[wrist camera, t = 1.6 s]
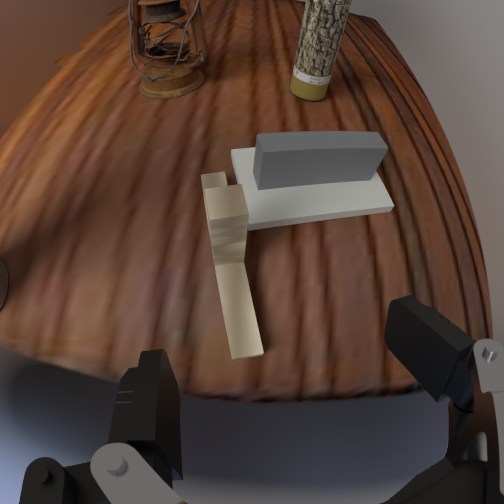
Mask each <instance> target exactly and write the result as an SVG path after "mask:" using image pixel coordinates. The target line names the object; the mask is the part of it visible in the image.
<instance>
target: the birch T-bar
mask: <svg viewBox="0 0 504 504" xmlns="http://www.w3.org/2000/svg"><path fill="white" fill-rule="evenodd" d="M201 180H202V188H203V195H204V202H205V209H206V215H207V222H208V228H209V235H210V241H211V247H212V253H213V259H214V265H215V271H216V277H217V282H218V288H219V294H220V299H221V305H222V310H223V315H224V321H225V326H226V331H227V336H228V341H229V346H230V351H231V356H232V360H238V359H243V358H248V357H254V356H259V355H262V354H263V353H264V352H263V347H262V343H261V338H260V334H259V329H258V325H257V320H256V316H255V311H254V307H253V302H252V297H251V293H250V288H249V284H248V279H247V274H246V270H245V265H244V256H245V247H246V238H247V228H248V219H249V212H248V208H247V204H246V200H245V196H244V192H243V187H242V184H238V185H230V186H228V185H227V180H226V175H225V172H217V173H210V174H203V175H201Z"/></svg>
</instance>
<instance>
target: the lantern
mask: <svg viewBox="0 0 504 504" xmlns="http://www.w3.org/2000/svg"><path fill="white" fill-rule="evenodd" d="M186 3H187V8H188V13H189V20H187V21H185V22H183V23H181V24H178V23H175V22H169V21H171V20H174V19H178V18H180V17H182V16H184V15H186V11H185V9H183V8H180V0H129V20H130V23H131V34H130V56H131V61H132V64H133V66H134V67H135V69H136V70H137V71H138V73H140V74H141V79H142V82H141V84H140V87H139V91H140V93H141V94H142V95H144V96H145V97H149V98H154V99H160V98H161V99H167V98H175V97H178V96H183V95H185V94H188V93H190V92H191V91H194V90H195V89H197V88H198V87H200V86H201V85H202V83H203V82H204V75H203V73H202V72H201V71H200V68H203V67H204V66H205V65H206V64H207V62H208V59H209V50H208V45H207V40H206V35H205V29H204V24H203V18H202V13H201V7H200V1H199V0H186ZM141 6H146V13H147V14H146V15H145V16H144V17H143V22H145V24H144V25H143V26H142V25H141ZM150 23H151V24H155V23H170V24H172V25H175V26H176V27H174V28H172V29H171V30H169V31H167V32H165V33H163V34H161V35H159V36H158V37H156V38H154V39H152V40H150V38H149V35H150V32H148V31H149V29H150V28H151V27H152V25H150V27H149V28H148V30H147V31H146V32H145V27H144V26H145V25H147V24H150ZM189 23H191V27H192V32H193V37H194V40H195V47H196V52H190V49H189V44H190V40H188V42H187V44H186V43H183V42H184V38H185V34H187V36H188V37H189V32H188V31H187V27H188V24H189ZM183 25H186V26H185V27H183ZM182 27H183V29H184V33H183V37H182V42H167V43H162V42H163V41H164V40H165V39H166V38H167V37H168V36H170V35H171V34H172V33H173V32H174V31H175V30H177V29H178V28H180V29H182ZM147 32H148V38H146V34H147ZM169 33H170V34H169ZM167 34H169V35H167ZM165 35H167V36H166V37H164V36H165ZM162 37H164V38H163V39H162V40H161V41H160V42H159V43H157V44H153V41H154V40H156V39H160V38H162ZM189 39H190V38H189ZM132 41H133V45H132ZM149 41H150V42H149ZM151 43H152V45H154V47H152V48H150V49H148V46H149V44H151ZM132 48H133V51H134V54H135V56H136V58H137V59H138V60H139V61H140V62H142V63H143V64H144V67H143V68H142V70H141V72H140V71H139V70H138V69H137V67H136V66H135V63H134V61H133V54H132ZM189 54H196V57H195V58H194V57H191V56H188V55H189Z"/></svg>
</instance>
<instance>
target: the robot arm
mask: <svg viewBox="0 0 504 504" xmlns="http://www.w3.org/2000/svg"><path fill="white" fill-rule="evenodd" d="M7 289H8V272H7V269H6V266H5V265H4V263H3V262H2V261H1V260H0V309H1V307H2V305H3V303H4V301H5V298H6V294H7ZM385 342H386V345H387V347H388V349H389V350H390V351H391V352H392V353H393V354H394V356H395V357H396V358H397V359H398V360H399V361H400V362H401V363H402V364H403V365H404V366H405V367H406V369H407V370H408V371H409V372H410V373H411V374H412V375H413V376H414V377H415V378H416V380H417V381H418V382H419V383H420V384H421V385H422V386H423V387H424V388H425V390H426V391H427V392H428V393H429V394H430V395H431V396H432V397H433V399H434V400H435V401H436V402H437V403H438V402H440V401H441V400H443V399H445V398H446V397H448V396H449V397H450V398H451V400H450V402H449V405H448V447H447V451H446V453H445V456H444V458H443V459H442V460H441V461H439V462H438V463H436V464H435V465H433V466H431V467H430V468H428V469H427V470H425V471H423V472H422V473H420V474H418V475H417V476H416V477H415V478H413V479H412V480H411V481H410V482H409V483H408V484H407V485H406V486H404V487H403V488H402V489H401V490H400V491H399V492H397V493H396V494H395V495H394V496H393V497H391V498H390V499H389V500H388V501H386V502H384V503H381V504H504V346H503V345H502V344H500V343H499V342H497V341H495V340H492V339H481V340H479V341H477V342H476V341H475V340H474V339H473V338H471V337H470V336H469V335H467V334H466V333H465V332H464V331H462V330H461V329H460V328H459V327H457V326H456V325H455V324H453V323H450V321H449V320H448V319H447V318H445V317H443V315H442V314H440V313H439V312H438V311H436V310H435V309H433V308H431V307H428V306H426V305H423V304H422V303H420V302H419V301H418V300H416V299H415V298H414V297H412V296H410V295H408V296H404V297H401V298H398V299H395V300H392V301H391V302H390V305H389V310H388V317H387V323H386V329H385ZM172 480H183V471H182V453H181V426H180V394H179V388H178V384H177V381H176V378H175V376H174V373H173V370H172V368H171V365H170V362H169V359H168V356H167V354H166V351H165V350H164V349H158V350H150V351H142V352H141V354H140V359H139V364H138V367H135V368H129V369H128V370H127V372H126V373H125V374H124V376H123V377H122V378H121V380H120V385H119V389H118V394H117V398H116V404H115V407H114V412H113V417H112V422H111V428H110V433H109V439H108V444H107V445H105V446H103V447H101V448H100V449H99V450H98V451H96V453H95V454H94V456H93V457H92V460H91V461H90V462H87V463H82V464H78V465H73V466H67V467H62V465H60V464H59V463H58V462H57V461H56V460H54V459H52V458H48V457H42V458H38V459H36V460H34V461H33V462H32V463H30V465H29V466H28V467H27V469H26V472H25V476H24V480H23V485H22V491H21V496H20V501H19V504H187V503H186V502H185V501H183V499H181V498H180V497H179V496H178V495H177V494H176V493H175V492H174V491H173V487H172Z"/></svg>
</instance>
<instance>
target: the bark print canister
mask: <svg viewBox="0 0 504 504" xmlns="http://www.w3.org/2000/svg"><path fill="white" fill-rule="evenodd" d="M351 1H352V0H306V5H305V10H304V16H303V21H302V26H301V32H300V37H299V42H298V48H297V53H296V58H295V64H294V69H293V75H292V80H291V85H290V89H291V91H292V93H293V94H294V95H296V96H297V97H299V98H301V99H304V100H308V101H319V100H321V99H323V98H324V97H325V94H326V91H327V88H328V84H329V81H330V78H331V74H332V71H333V67H334V64H335V60H336V56H337V53H338V49H339V46H340V42H341V38H342V35H343V31H344V27H345V24H346V20H347V16H348V12H349V8H350V5H351Z"/></svg>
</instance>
